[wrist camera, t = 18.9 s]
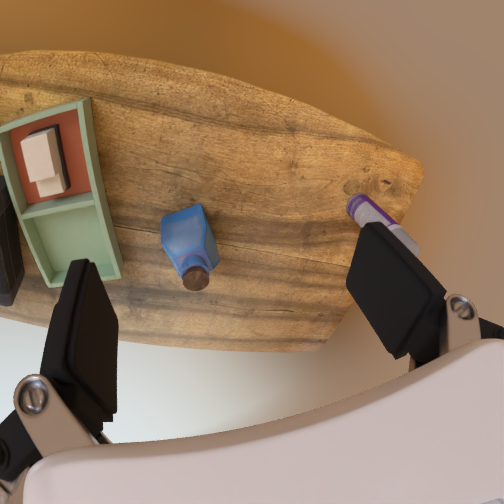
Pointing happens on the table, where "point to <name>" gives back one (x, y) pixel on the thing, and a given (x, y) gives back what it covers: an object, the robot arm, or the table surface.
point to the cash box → (8, 249)
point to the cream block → (46, 161)
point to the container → (378, 219)
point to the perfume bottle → (190, 246)
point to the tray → (63, 196)
